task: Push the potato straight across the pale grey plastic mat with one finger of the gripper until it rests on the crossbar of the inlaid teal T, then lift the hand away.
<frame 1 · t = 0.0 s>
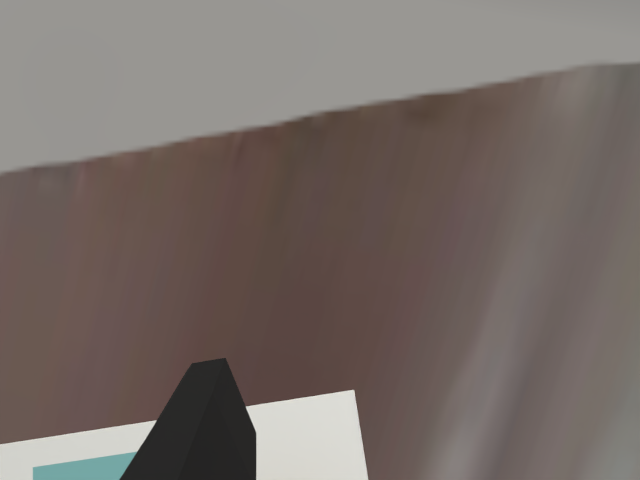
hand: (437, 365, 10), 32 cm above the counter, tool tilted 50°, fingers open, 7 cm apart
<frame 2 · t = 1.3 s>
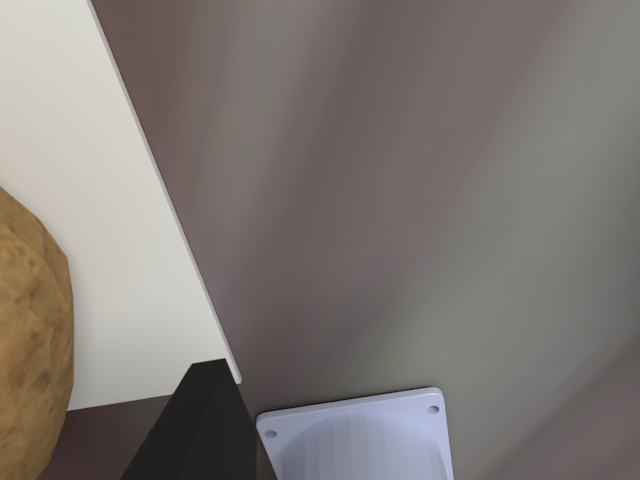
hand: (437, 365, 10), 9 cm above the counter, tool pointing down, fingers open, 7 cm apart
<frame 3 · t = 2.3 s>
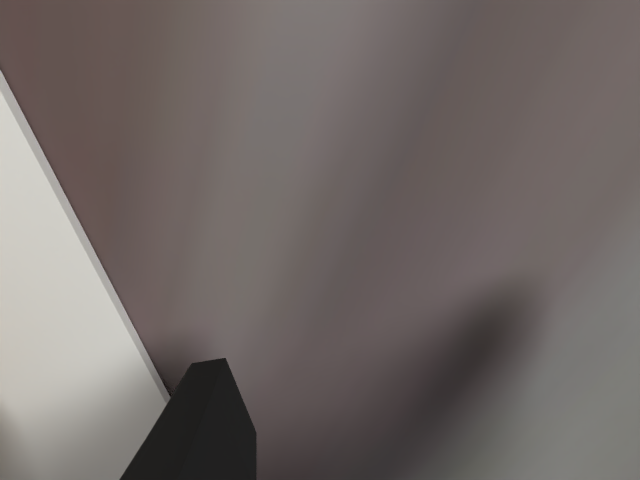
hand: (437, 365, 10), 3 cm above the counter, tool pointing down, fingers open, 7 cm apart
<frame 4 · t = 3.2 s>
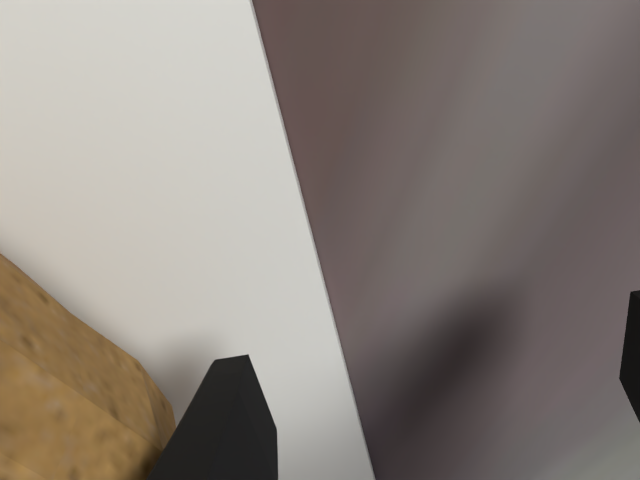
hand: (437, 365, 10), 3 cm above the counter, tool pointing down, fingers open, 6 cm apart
potato: (10, 342, 13), on the counter, touching gripper
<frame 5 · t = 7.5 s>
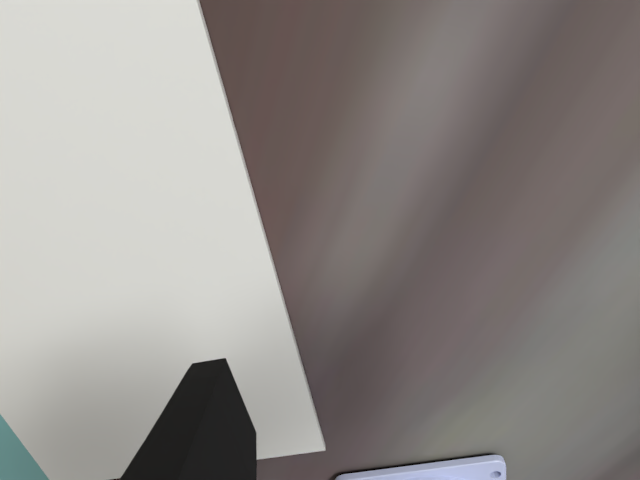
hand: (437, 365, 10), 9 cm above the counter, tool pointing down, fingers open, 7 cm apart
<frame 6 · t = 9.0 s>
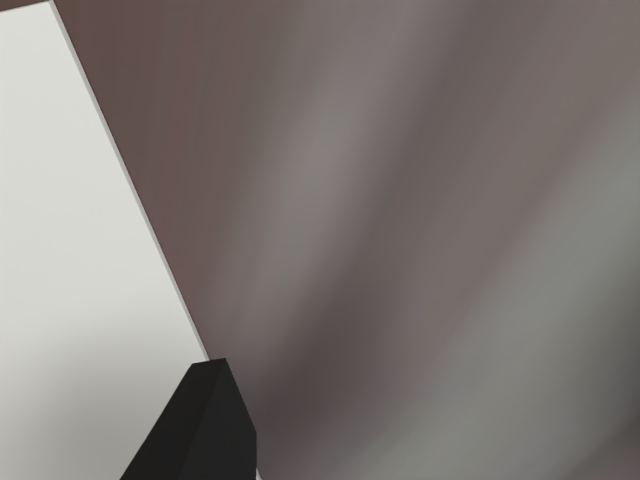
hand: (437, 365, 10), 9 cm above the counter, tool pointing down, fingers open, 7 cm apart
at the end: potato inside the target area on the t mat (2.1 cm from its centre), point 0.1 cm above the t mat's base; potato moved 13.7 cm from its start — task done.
